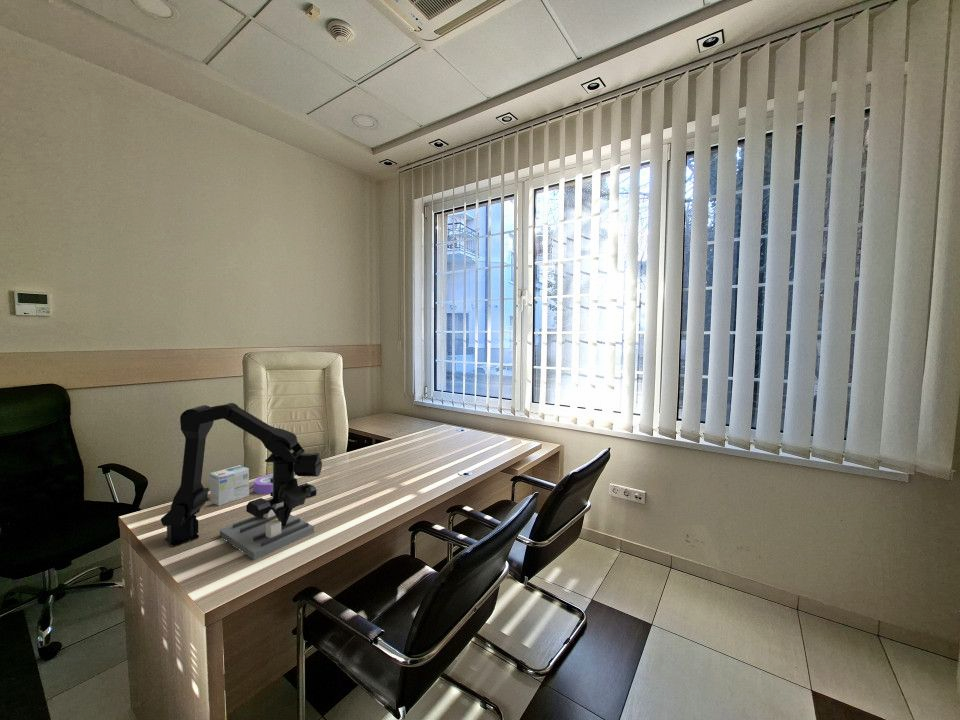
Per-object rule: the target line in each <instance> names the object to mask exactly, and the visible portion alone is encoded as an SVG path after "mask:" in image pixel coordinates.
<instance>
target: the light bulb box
mask: <svg viewBox="0 0 960 720" xmlns="http://www.w3.org/2000/svg"><path fill="white" fill-rule="evenodd" d="M209 493H210V495H209V497H210V502H211V503H212V504H214V505H216V506H218V507H221V506H223V505H225V504H229V503H231V502H234V501H238V500H241V499H244V498H247V497H249V496H250V468H249V467H245V466H243V465H240V464H238V465H236V466H232V467H228V468H225V469H220V470H217V471H212V472H210V473H209Z"/></svg>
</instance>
